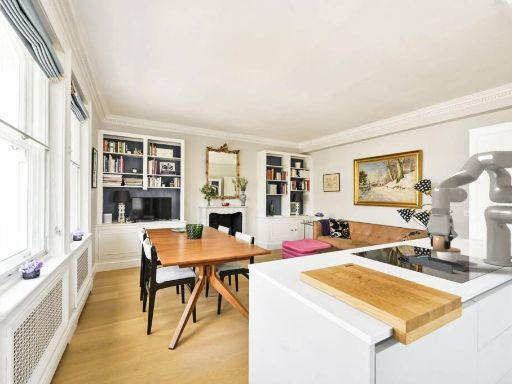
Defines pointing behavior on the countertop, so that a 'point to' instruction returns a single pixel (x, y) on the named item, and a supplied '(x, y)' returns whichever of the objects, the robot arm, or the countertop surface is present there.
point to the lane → (436, 263)
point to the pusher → (424, 257)
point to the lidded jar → (450, 254)
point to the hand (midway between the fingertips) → (440, 247)
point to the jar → (439, 242)
